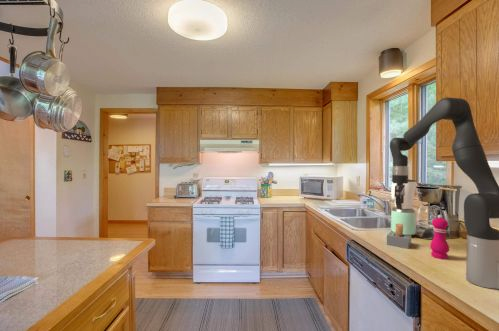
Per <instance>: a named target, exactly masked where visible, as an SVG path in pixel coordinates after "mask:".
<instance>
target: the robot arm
mask: <svg viewBox="0 0 499 331" xmlns="http://www.w3.org/2000/svg"><path fill="white" fill-rule="evenodd" d="M442 120H446V121H447V120H448V121H449V120H450V121H452V123H453V125H454V126H453V127H454V128H455V136H454V140H453V143H452V146H451V150H452V154H453V157H454V160H455V163H456V164H457V167H458V168H459V169H460V170H461V171H462V172H463V173H464V174H465V175H466V176H467V177H468V178H469V179H470V180H471V181H472V182H473V183H474V185H475V187H476V189H477V192H478V193H476V192H475V193H471V194H468V195H467V196H466V197H465V199H464V202H463V218H464V220H463V222H464V227H465V229H466V258H465V260H466V262H465V264H466V265H465V266H466V268H465V269H466V270H465V272H466V273H465V279H466V280H467V282H469V283H471V284H473V285H476V286H479V287H482V288H488V289H495V290H496V289H497V290H499V229H497V228H493V227H492V226H491V224H490V219H499V183H498V182H497V180H496V178H495V176H494V174H493V171H492V169H491V166H490V165H489V162H488V159H487V155H486V153H485V150H484V147H483V145H482V142H481V140H480V138H479V135H478V132H477V129H476V126H475V122H474V118H473V113H472V109H471V105H470V103H469V101H467V99H464V98H460V97H444V98H441V99H439V100H438V101H437V102H436V103H435V104H434V105H432V107H431V108H430V109H429V110H428V111H427V112H426V113H425V115H424V116H422V118H421V119H420V120H419V121H418V122H416V123H415V124H414V125H413V126H412V127H410V128H409V129H407V131H405V132H404V133H403V136H402V137H393V138H392V139H390V142H389V149H390V154H391V157H392V169H391V170H392V172H391V183H392V182H393V183H396V184H397V185H396V186H395V198H396V205H401V203H404V197H403V196H404V195H405V185H403V184H406V183H408V179H409V157H408V155H406V154H403V153H402V152H403V151H404V152H406V151H408V150H411V149H412V148H413V147H414V145H415V144H416V143H417V142H419V140H420V141H421V140H422V139H423V138H424V137H425V136H427V134H429V131H430V130H431V127H432V126H433V125H434V124H435V123H437V122H439V121H442Z"/></svg>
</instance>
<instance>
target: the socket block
mask: <svg viewBox="0 0 499 331" xmlns="http://www.w3.org/2000/svg"><path fill="white" fill-rule="evenodd" d="M395 234H396V233H395V232H391V231H390V232H389V233H388V234H387V235H386V245H387V246H390V247H391V246H392V247H397V248H402V249H407V250H409V249H410V248H411V247H410V246H411V245H412V236H411V235H407V234H403V237H400V236H395Z"/></svg>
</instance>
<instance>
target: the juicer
mask: <svg viewBox="0 0 499 331" xmlns="http://www.w3.org/2000/svg"><path fill="white" fill-rule="evenodd" d="M396 185H397V184H396V183H393V182H392V181H391V191H390V192H391V194H390V195H391V196H390V197H391V199H392V201H393V203H394V207H392V209H391V211H390V212H391V213H390V215H391V216H390V232H395V233H396V224H403V234H407V235H411V237H415V236H414V235H416V234H417V233H416V231H417V230H416V223H417V221H416V220H417V216H416V214H417V213H416V211H415V209H414V208H413V204H414V198H415V194H416V189H417V179H416V180H415V179H409V178H408V183H406V184H403V185H405V195H404V196H403V197H404V203H401V205H396V198H395V186H396Z"/></svg>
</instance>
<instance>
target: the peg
mask: <svg viewBox="0 0 499 331" xmlns="http://www.w3.org/2000/svg"><path fill="white" fill-rule="evenodd" d="M395 236H400V237H403V224H396V234H395Z"/></svg>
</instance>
